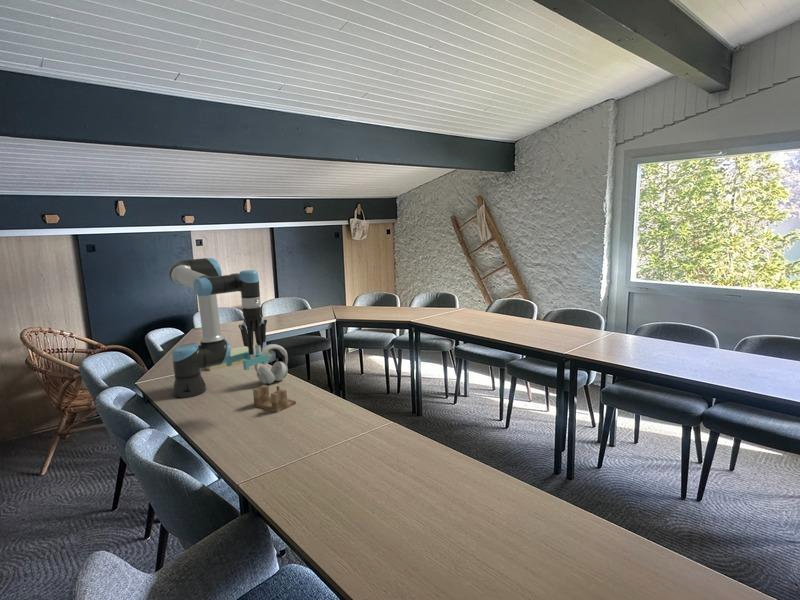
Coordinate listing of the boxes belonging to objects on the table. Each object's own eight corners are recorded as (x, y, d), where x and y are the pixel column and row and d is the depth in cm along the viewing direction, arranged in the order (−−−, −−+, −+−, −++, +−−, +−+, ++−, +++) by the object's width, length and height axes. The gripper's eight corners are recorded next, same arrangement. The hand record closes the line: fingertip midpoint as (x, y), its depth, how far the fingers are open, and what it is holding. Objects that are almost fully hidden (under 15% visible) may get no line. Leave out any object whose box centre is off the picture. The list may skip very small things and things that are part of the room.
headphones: (262, 389, 230) (259, 350, 226) (251, 384, 237) (248, 346, 233) (294, 379, 243) (291, 342, 240) (283, 375, 250) (280, 339, 247)
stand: (277, 412, 201) (276, 394, 200) (254, 406, 209) (252, 389, 208) (295, 403, 210) (294, 386, 209) (272, 397, 218) (271, 381, 217)
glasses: (246, 370, 189) (245, 360, 188) (226, 365, 196) (225, 356, 195) (268, 362, 198) (267, 353, 197) (249, 358, 205) (248, 349, 204)
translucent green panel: (269, 358, 284) (253, 350, 302) (269, 351, 283) (253, 343, 302) (209, 372, 261) (195, 362, 280) (208, 364, 261) (195, 355, 279)
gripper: (242, 310, 188) (247, 366, 192) (271, 304, 201) (275, 357, 205) (230, 309, 193) (235, 363, 197) (260, 303, 205) (264, 354, 209)
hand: (256, 360), depth 201 cm, fingers closed on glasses, 2 cm apart
